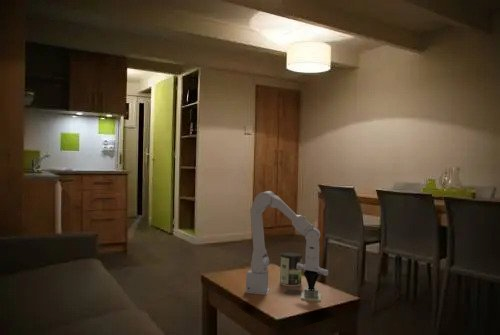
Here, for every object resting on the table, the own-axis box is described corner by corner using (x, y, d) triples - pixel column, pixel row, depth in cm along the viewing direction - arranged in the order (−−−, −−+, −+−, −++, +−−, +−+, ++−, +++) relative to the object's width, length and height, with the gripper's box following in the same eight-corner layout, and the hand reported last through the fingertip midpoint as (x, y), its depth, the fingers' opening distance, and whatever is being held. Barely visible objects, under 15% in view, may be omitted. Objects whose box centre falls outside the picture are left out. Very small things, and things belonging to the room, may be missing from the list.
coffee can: (303, 282, 183) (304, 252, 183) (298, 288, 174) (299, 257, 174) (283, 279, 187) (284, 250, 187) (276, 284, 178) (277, 254, 178)
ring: (304, 297, 158) (304, 290, 158) (304, 293, 164) (304, 286, 164) (317, 298, 157) (317, 291, 157) (318, 294, 163) (318, 287, 163)
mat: (284, 294, 165) (284, 293, 165) (286, 289, 171) (286, 288, 171) (300, 295, 163) (300, 295, 163) (301, 290, 170) (301, 290, 170)
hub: (300, 300, 158) (301, 291, 158) (302, 294, 165) (302, 286, 165) (320, 302, 156) (320, 293, 156) (320, 296, 164) (321, 287, 164)
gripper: (332, 258, 159) (331, 290, 159) (303, 252, 169) (302, 283, 169) (323, 261, 154) (322, 294, 154) (294, 254, 163) (293, 286, 163)
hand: (311, 288), depth 161 cm, fingers closed
